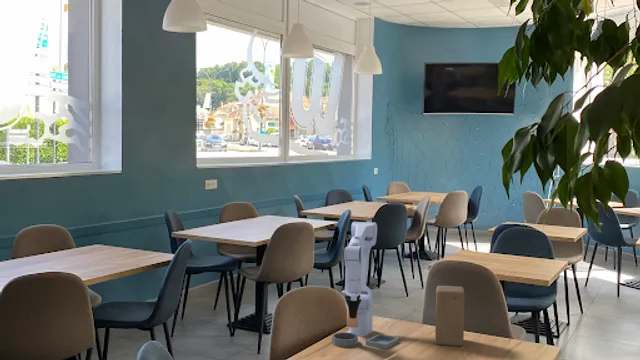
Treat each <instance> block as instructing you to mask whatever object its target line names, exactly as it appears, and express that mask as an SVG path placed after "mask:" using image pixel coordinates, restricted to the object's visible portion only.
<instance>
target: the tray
mask: <svg viewBox="0 0 640 360" xmlns="http://www.w3.org/2000/svg"><path fill="white" fill-rule="evenodd" d="M399 342H400V338H399V337H396V336H392V335H387V334H381V333H378V334H376V335H375V336H373V337H370V338H368V339H366V340H365V345H366V346H370V347H374V348H378V349H384V350H386V349H388V348H390V347H392V346H394V345H396V344H398V343H399Z"/></svg>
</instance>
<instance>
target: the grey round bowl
mask: <svg viewBox="0 0 640 360" xmlns="http://www.w3.org/2000/svg"><path fill="white" fill-rule="evenodd" d="M331 336H332V337H331V343H332V344H331V345H333V346H335V347H340V348H351V347H356V346H358V344H359V343H358V342H359V336H358V335H356V334H354V333H348V332H347V331H342V332H336V333H334V334H332V335H331Z"/></svg>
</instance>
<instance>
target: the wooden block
mask: <svg viewBox="0 0 640 360" xmlns="http://www.w3.org/2000/svg"><path fill="white" fill-rule="evenodd" d="M464 326H465V288H464V287H463V286H455V285H454V286H453V285H437V286H436V292H435V334H434V335H435V336H434V337H435V339H434V340H435V341H434V342H435V344H436V345H439V346H441V345H442V346H453V347H454V346H456V347H462V346H463V345H464V342H465V341H464V337H465V336H464V335H465V333H464V331H465V327H464Z"/></svg>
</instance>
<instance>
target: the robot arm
mask: <svg viewBox="0 0 640 360" xmlns="http://www.w3.org/2000/svg"><path fill="white" fill-rule="evenodd" d="M350 227H351V228H350V229H351V230H350V234H351V238H350V241H349V244H348V245H347V246H345V247H344V250H343V258H344V267H345V278H344V279H345V281H344V282H345V285H344V286H345V287H344V290H341V293H342V294H345V295H344V297H345V300H344V301H345V303H344V304H345V308H346V309H347V305H348V309H349V316H350V318H356V316H357V311H358V327H348V330H347V331H346V332H348V333H354V334H356V335H358V337H361V338H363V337H365V336H367V335H370V334H371V333H374V332H375V330H373V313H372V311H371V310H372V309H373V291H372V289H371V288H370V287H369V286H367V283H368V282H367V280H368V271H369V261H370V253H371V250H372V247H373V246H375V245H376V243H377V237H378V236H377V235H378V224H377V223H376V222H375V221H374V222H371V221H369V222H367V221H366V222H365V221H353V222H352V223H351V226H350Z"/></svg>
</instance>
